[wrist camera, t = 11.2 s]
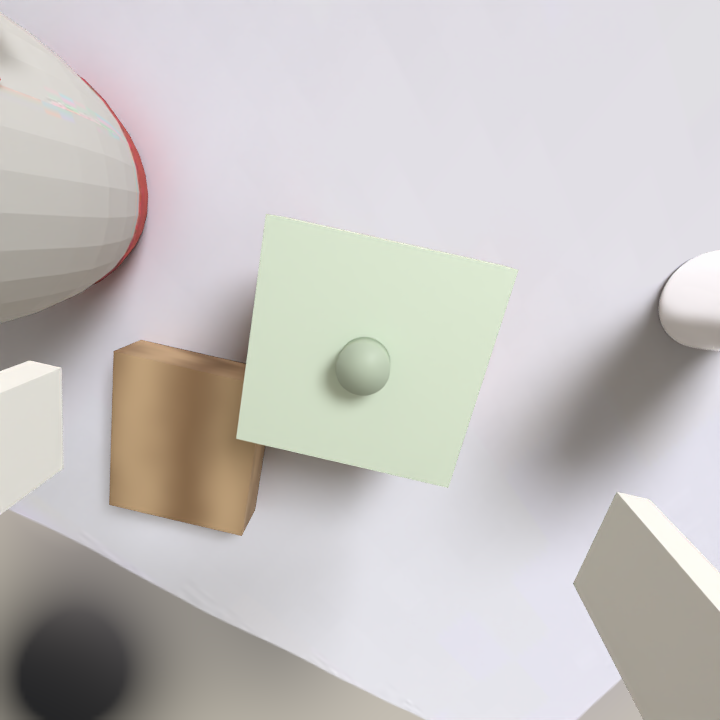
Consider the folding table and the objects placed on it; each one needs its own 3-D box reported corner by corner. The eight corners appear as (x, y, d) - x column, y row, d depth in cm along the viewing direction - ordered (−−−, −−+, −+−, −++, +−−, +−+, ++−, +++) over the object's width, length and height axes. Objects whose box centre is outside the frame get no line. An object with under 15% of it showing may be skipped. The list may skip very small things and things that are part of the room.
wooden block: (133, 481, 33) (109, 504, 30) (140, 339, 30) (113, 351, 27) (254, 509, 33) (241, 535, 30) (276, 370, 29) (264, 385, 27)
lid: (255, 414, 24) (227, 450, 20) (284, 216, 21) (256, 212, 17) (441, 457, 24) (451, 502, 20) (501, 264, 20) (527, 272, 16)
